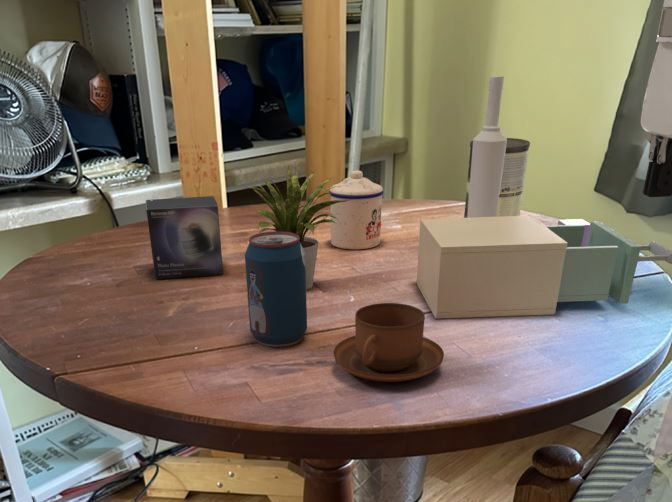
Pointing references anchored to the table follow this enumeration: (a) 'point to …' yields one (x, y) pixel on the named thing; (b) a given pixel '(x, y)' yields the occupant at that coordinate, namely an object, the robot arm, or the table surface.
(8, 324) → the table surface
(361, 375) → the cup and saucer
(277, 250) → the soda can
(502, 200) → the coffee can
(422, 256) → the beige box
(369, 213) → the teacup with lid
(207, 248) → the small box
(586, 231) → the purple cube
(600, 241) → the drawer
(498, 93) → the bottle
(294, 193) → the house plant
